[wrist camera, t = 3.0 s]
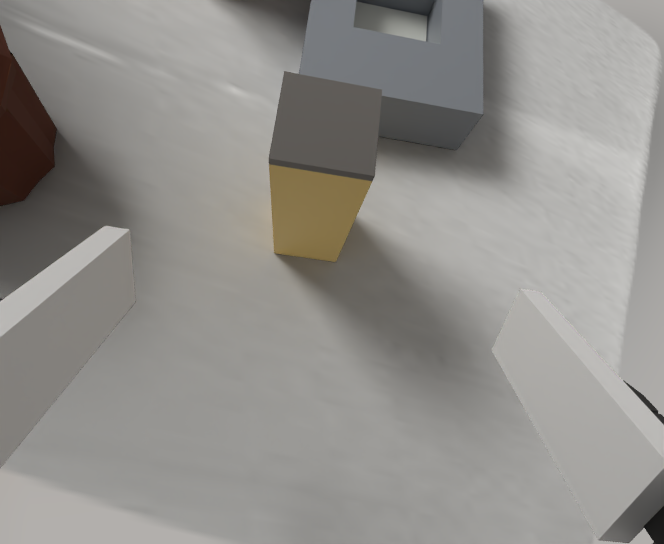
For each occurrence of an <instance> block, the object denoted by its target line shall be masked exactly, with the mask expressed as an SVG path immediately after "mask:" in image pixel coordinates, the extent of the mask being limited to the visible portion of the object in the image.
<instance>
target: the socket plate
mask: <svg viewBox="0 0 664 544" xmlns="http://www.w3.org/2000/svg"><path fill="white" fill-rule="evenodd" d="M299 74H301V75H307V76H312V77H318V78H323V79H328V80H334V81H339V82H344V83H350V84H355V85H360V86H366V87H371V88H376V89H382V98H381V110H380V121H379V132H378V136H380V137H385V138H391V139H397V140H402V141H408V142H414V143H419V144H425V145H431V146H436V147H442V148H448V149H453V150H457V149H458V147H459V146H460V145H461V143H462V142H463V141H464V139H465V138H466V137H467V135H468V134H469V133H470V131H471V130H472V129H473V127H474V126H475V125H476V123H477V122H478V121H479V120H480V118H481V117H482V116H483V0H311V4H310V10H309V16H308V22H307V28H306V34H305V40H304V46H303V52H302V58H301V64H300V70H299Z"/></svg>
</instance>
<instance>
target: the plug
mask: <svg viewBox="0 0 664 544" xmlns="http://www.w3.org/2000/svg"><path fill="white" fill-rule="evenodd" d="M381 98H382V89H376V88H371V87H366V86H360V85H355V84H350V83H344V82H339V81H334V80H328V79H323V78H318V77H312V76H307V75H301V74H296V73H291V72H285V71H284V77H283V82H282V88H281V93H280V99H279V104H278V110H277V116H276V121H275V127H274V132H273V138H272V143H271V149H270V154H269V171H270V188H271V205H272V222H273V239H274V253H276V254H283V255H290V256H297V257H304V258H311V259H318V260H325V261H332V262H336V261H337V258H338V256H339V254H340V252H341V249H342V247H343V245H344V243H345V241H346V238H347V236H348V234H349V232H350V229H351V227H352V225H353V223H354V221H355V218H356V216H357V214H358V212H359V210H360V207H361V205H362V203H363V201H364V198H365V196H366V194H367V192H368V190H369V187H370V185H371V183H372V181H373V179H374V176H375V166H376V155H377V143H378V132H379V121H380V110H381Z"/></svg>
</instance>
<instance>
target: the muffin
mask: <svg viewBox="0 0 664 544" xmlns="http://www.w3.org/2000/svg"><path fill="white" fill-rule="evenodd" d="M56 130H57V129H56V127H55V125H54V123H53V122H52V120H51V118H50V117H49V115H48V113H47V112H46V110H45V108H44V106H43V105H42V103H41V101H40V100H39V98H38V96H37V95H36V93H35V91H34V90H33V88H32V86H31V84H30V83H29V81H28V79H27V78H26V76H25V74H24V73H23V71H22V69H21V67H20V66H19V64H18V62H17V61H16V59H15V57H14V56H13V54H12V53H11V52H10V51H9V49H8V46H7V43H6V40H5V37H4V34H3V32H2V29H1V26H0V206H3V205H7V204H11V203H15V202H19V201H23V200H25V199H26V197H27V196H28V195H29V193H30V192H31V191H32V189H33V188H34V187H35V185H36V184H37V183H38V182H39V181H40V180H41V179H42V178H43V177H44V176H45V175H46V174H47V173H48V172H49V171H50V170H52V169H53V168H54V167H55V162H54V142H55V136H56Z"/></svg>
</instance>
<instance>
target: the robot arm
mask: <svg viewBox="0 0 664 544" xmlns="http://www.w3.org/2000/svg"><path fill="white" fill-rule="evenodd" d="M135 302H136V296H135V284H134V272H133V261H132V249H131V237H130V229H124V228H117V227H110V226H104V227H102V228H101V229H100V230H98V231H97V232H95V233H94V234H93V235H91V236H90V237H89V238H87V239H86V240H84V241H83V242H82V243H80V244H79V245H77V246H76V247H75V248H73V249H72V250H71V251H69V252H68V253H66V254H65V255H64V256H62V257H61V258H60V259H58V260H57V261H55V262H54V263H53V264H51V265H50V266H48V267H47V268H46V269H44V270H43V271H42V272H40V273H39V274H37V275H36V276H35V277H33V278H32V279H30V280H29V281H28V282H26V283H25V284H24V285H22V286H21V287H19V288H18V289H17V290H15V291H14V292H12V293H11V294H10V295H8V296H7V297H6V298H4V299H0V468H1V467H2V466H3V464H4V463H5V462H6V461H7V459H8V458H9V457H10V456H11V455H12V453H13V452H14V451H15V450H16V448H17V447H18V446H19V445H20V443H21V442H22V441H23V440H24V439H25V437H26V436H27V435H28V434H29V432H30V431H31V430H32V429H33V427H34V426H35V425H36V424H37V423H38V421H39V420H40V419H41V418H42V416H43V415H44V414H45V413H46V411H47V410H48V409H49V408H50V407H51V405H52V404H53V403H54V402H55V400H56V399H57V398H58V397H59V396H60V394H61V393H62V392H63V391H64V389H65V388H66V387H67V386H68V384H69V383H70V382H71V381H72V380H73V378H74V377H75V376H76V375H77V373H78V372H79V371H80V370H81V368H82V367H83V366H84V365H85V364H86V362H87V361H88V360H89V359H90V357H91V356H92V355H93V354H94V352H95V351H96V350H97V349H98V348H99V346H100V345H101V344H102V343H103V341H104V340H105V339H106V338H107V337H108V335H109V334H110V333H111V332H112V330H113V329H114V328H115V327H116V325H117V324H118V323H119V322H120V321H121V319H122V318H123V317H124V316H125V314H126V313H127V312H128V311H129V309H130V308H131V307H132V306H133V305H134V303H135ZM492 352H493V354H494V356H495V357H496V359H497V361H498V363H499V365H500V366H501V368H502V370H503V372H504V373H505V375H506V377H507V379H508V381H509V382H510V384H511V386H512V388H513V390H514V391H515V393H516V395H517V397H518V398H519V400H520V402H521V404H522V406H523V407H524V409H525V411H526V413H527V414H528V416H529V418H530V420H531V422H532V423H533V425H534V427H535V429H536V430H537V432H538V434H539V436H540V438H541V439H542V441H543V443H544V445H545V446H546V448H547V450H548V452H549V454H550V455H551V457H552V459H553V461H554V463H555V464H556V466H557V468H558V470H559V471H560V473H561V475H562V477H563V479H564V480H565V482H566V484H567V486H568V487H569V489H570V491H571V493H572V495H573V496H574V498H575V500H576V502H577V503H578V505H579V507H580V509H581V511H582V512H583V514H584V516H585V518H586V519H587V521H588V523H589V525H590V527H591V528H592V530H593V532H594V534H595V535H596V537H597V539H598V540H603V541H613V542H623V543H629V542H630V541H631V540H632V539H633V538H634V537H635V536H636V535H637V534H638V533H639V532H640V531H641V530H642V529H643V528H645V529H646V531H647V532H648V534H649V535H650V537H651V538H652V540H654V543H653V544H664V417H663V416H662V415H661V414H658V410H657V409H656V408H655V407H654V406H653V405H652V404H651V403H650V402H649V401H648V400H647V399H646V398H645V397H644V395H642V394H641V393H640V392H638V391H637V390H636V389H634V388H633V387H632V386H630V385H629V384H628V383H626V382H625V381H623V380H622V379H621V378H620V377H619V376H618V375H617V374H616V373H615V371H614V370H613V369H612V368H611V367H610V366H609V365H608V364H607V363H606V362H605V361H604V359H603V358H602V357H601V356H600V355H599V354H598V353H597V352H596V351H595V350H594V349H593V348H592V346H591V345H590V344H589V343H588V342H587V341H586V340H585V339H584V338H583V337H582V336H581V335H580V333H579V332H578V331H577V330H576V329H575V328H574V327H573V326H572V325H571V324H570V323H569V322H568V320H567V319H566V318H565V317H564V316H563V315H562V314H561V313H560V312H559V311H558V310H557V309H556V307H555V306H554V305H553V304H552V303H551V302H550V301H549V300H548V299H547V298H546V297H545V296H544V294H543V293H542V292H540V291H533V290H527V289H520V290H519V292H518V294H517V296H516V299H515V301H514V303H513V305H512V307H511V309H510V311H509V313H508V316H507V318H506V320H505V322H504V324H503V326H502V328H501V330H500V333H499V335H498V337H497V339H496V341H495V343H494V345H493V347H492Z"/></svg>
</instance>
